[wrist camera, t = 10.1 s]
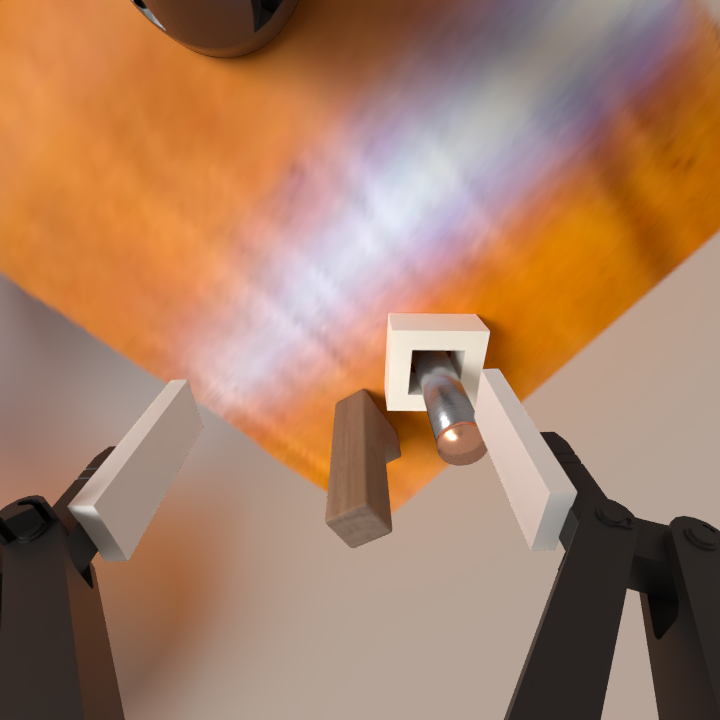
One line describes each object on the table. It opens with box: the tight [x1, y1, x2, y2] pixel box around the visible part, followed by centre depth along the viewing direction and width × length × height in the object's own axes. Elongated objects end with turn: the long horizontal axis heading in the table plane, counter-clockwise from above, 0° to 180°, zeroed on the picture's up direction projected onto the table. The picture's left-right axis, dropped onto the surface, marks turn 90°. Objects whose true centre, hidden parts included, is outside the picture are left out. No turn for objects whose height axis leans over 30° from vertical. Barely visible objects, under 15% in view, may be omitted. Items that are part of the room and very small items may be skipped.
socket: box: [384, 313, 490, 411], centre depth 41 cm, size 10×10×5 cm
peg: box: [412, 350, 488, 465], centre depth 36 cm, size 4×4×17 cm
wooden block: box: [325, 389, 401, 548], centre depth 40 cm, size 9×4×18 cm, turn 32°
